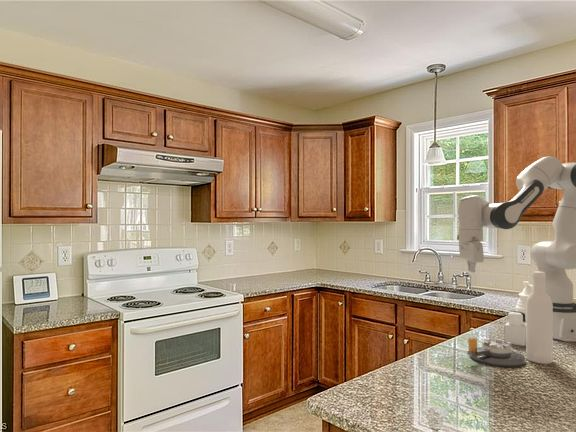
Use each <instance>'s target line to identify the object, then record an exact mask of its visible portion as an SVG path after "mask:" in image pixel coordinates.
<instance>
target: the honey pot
mask: <svg viewBox="0 0 576 432" xmlns="http://www.w3.org/2000/svg"><path fill="white" fill-rule="evenodd" d="M522 284H523V285H524V288H523V289H522V292H520V293H517V294H518V296H519V298H518V299H517V303H516V305H515V311H518V312H522V313H524V314H525V322H526V301H527V298H528V296H529V295H530V294H531V293H533V284H530V282H529V281H527V280H526V281H522Z"/></svg>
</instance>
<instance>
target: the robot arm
mask: <svg viewBox="0 0 576 432" xmlns="http://www.w3.org/2000/svg"><path fill="white" fill-rule="evenodd" d="M515 183H516V187H517V189H518V191H519V192H517V194H516V195H515V196H514V197H513V198H512V199H511V200H509V201H505V202H499V203H498V202H497V203H492V202H489V201H486V200H484V199H483V197H481V196H480V195H476V194H475V195H469V196H464V197H462V198H460V199H459V202H458V206H457V207H458V208H457V211H458V212H457V217H458V219H457V220H458V222H459V226H458V234H457V236H456V237H457V238H456V240H457V241H458V247H459V249H458V250H459V251H458V252H459V256H460V258H461V259H463V260H466V264H467V267H468V269H467V270H468V272H470V273H475V272H476V266H477V263H483V262H484V260H485V257H484V255H485V254H484V246H483V243H482V242H483V241H484V229H483V228H489V229H490V228H491V229H503V230H511V229H513V228H514V227H516V226H517V225H518V223H520V220H521V218H522V216H523V215H524V213H526V211H527V210H528V209H529V208H530V207H531V206H532V205H533V204H534V203H535V202H536V201H537V200H538V199H540V196H541V195H542V194H543V192H544V191H545V190H546V189H549V190H560V191H561V190H562V198H561V200H560V201H559V204H558V207H557V210H556V212H555V214H554V217H553V218H554V219H553V220H552V227H553V229H554V233H555V234H554V240H542V241H539V242H536V243H534V244H533V245H532V247H531V249H530V257H531V259H532V260H533V262H534V264H535V265H536V267H537V271H538V272H545V276H546V278H545V293H546V294H547V295H548V296H549V297H550V298H551V301H552V304H553V340H554V339H555V340H559V341H563V342H576V302H574V283H573V282H572V280H571V279H570V277H569V276H568V275H567V272H566V270H567V271H568V270H576V162H565V163H562V162H561V160H559V158H556V157H555V156H551V155H548V156H547V155H546V156H544V157H541V158H539V159H538V160H536V161H534V162H533V163H531V164H529V165H528V166H527V167H526V168H524V170H522V171H521V172H520V173H519V174H518V176H516V180H515Z"/></svg>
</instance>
